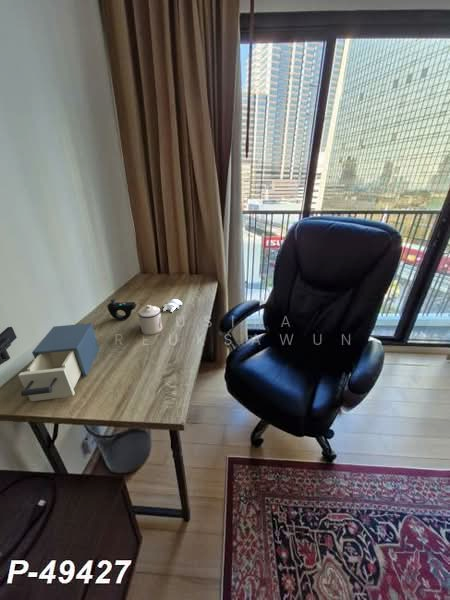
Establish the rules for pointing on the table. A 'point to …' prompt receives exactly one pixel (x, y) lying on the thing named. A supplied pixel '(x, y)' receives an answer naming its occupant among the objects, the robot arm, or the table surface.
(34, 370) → the drawer
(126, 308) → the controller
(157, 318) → the teacup with lid
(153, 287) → the table surface
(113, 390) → the table surface
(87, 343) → the blue cabinet box
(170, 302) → the astronaut figurine
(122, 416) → the table surface
